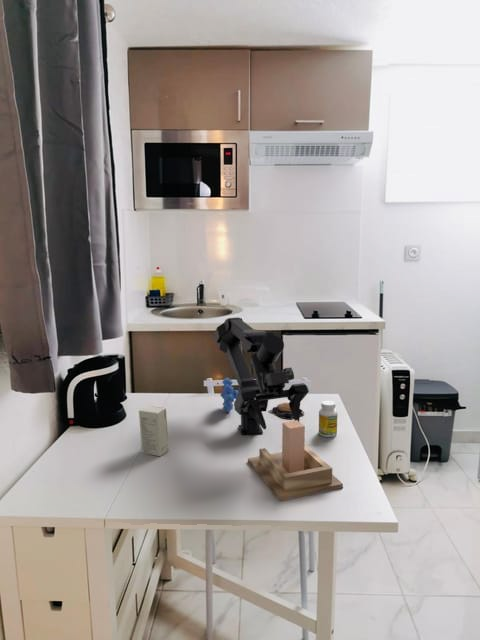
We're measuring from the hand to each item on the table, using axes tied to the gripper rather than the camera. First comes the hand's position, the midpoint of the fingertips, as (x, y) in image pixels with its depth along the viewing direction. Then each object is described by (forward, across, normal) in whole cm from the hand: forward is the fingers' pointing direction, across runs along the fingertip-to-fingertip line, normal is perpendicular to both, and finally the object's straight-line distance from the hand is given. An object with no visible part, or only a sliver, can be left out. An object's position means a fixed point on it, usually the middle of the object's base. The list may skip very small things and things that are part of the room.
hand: (281, 426), depth 126 cm
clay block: (+11, 0, +2) cm, 11 cm away
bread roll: (-14, +16, +30) cm, 37 cm away
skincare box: (-5, -30, +20) cm, 36 cm away
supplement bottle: (-1, +20, +16) cm, 25 cm away
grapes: (-19, -1, +35) cm, 40 cm away
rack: (+12, 0, +2) cm, 12 cm away
